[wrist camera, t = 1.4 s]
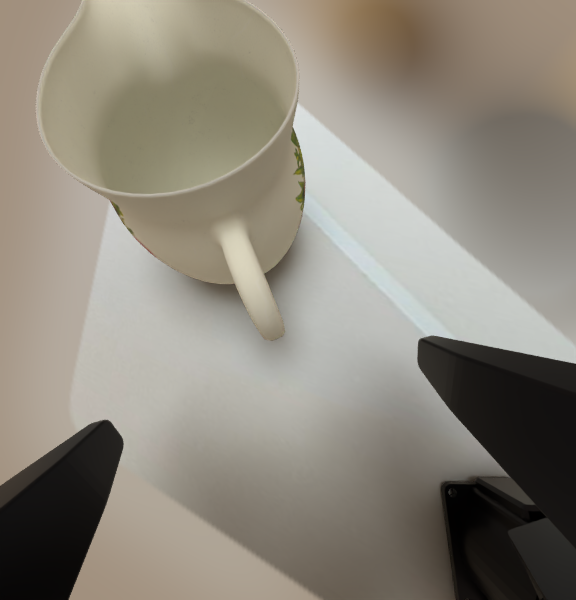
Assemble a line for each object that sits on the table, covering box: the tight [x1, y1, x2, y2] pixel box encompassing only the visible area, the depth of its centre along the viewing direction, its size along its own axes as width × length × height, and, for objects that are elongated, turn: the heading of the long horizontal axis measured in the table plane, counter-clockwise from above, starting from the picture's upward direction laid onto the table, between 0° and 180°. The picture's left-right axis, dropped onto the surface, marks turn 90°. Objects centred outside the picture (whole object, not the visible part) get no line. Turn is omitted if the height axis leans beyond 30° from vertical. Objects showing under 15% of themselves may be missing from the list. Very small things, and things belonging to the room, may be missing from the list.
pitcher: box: [36, 0, 305, 341], centre depth 16 cm, size 11×18×14 cm, turn 23°
